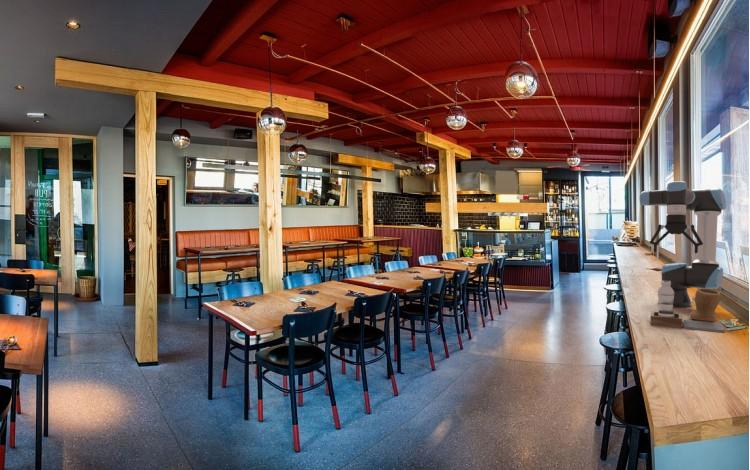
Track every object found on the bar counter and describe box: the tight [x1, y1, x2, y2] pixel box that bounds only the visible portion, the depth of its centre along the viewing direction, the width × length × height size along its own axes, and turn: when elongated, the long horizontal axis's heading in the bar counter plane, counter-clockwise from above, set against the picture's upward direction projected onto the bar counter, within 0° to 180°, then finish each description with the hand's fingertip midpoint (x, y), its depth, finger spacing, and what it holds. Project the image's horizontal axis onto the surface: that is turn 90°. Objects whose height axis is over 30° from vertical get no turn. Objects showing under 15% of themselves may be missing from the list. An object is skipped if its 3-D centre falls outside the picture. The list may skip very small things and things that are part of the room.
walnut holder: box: [650, 310, 683, 329], centre depth 197 cm, size 12×12×4 cm
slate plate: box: [682, 319, 725, 333], centre depth 189 cm, size 14×14×1 cm
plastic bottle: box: [657, 280, 675, 318], centre depth 196 cm, size 6×7×20 cm
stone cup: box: [688, 288, 722, 322], centre depth 201 cm, size 15×12×15 cm
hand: (675, 259), depth 196 cm, fingers open, 13 cm apart
